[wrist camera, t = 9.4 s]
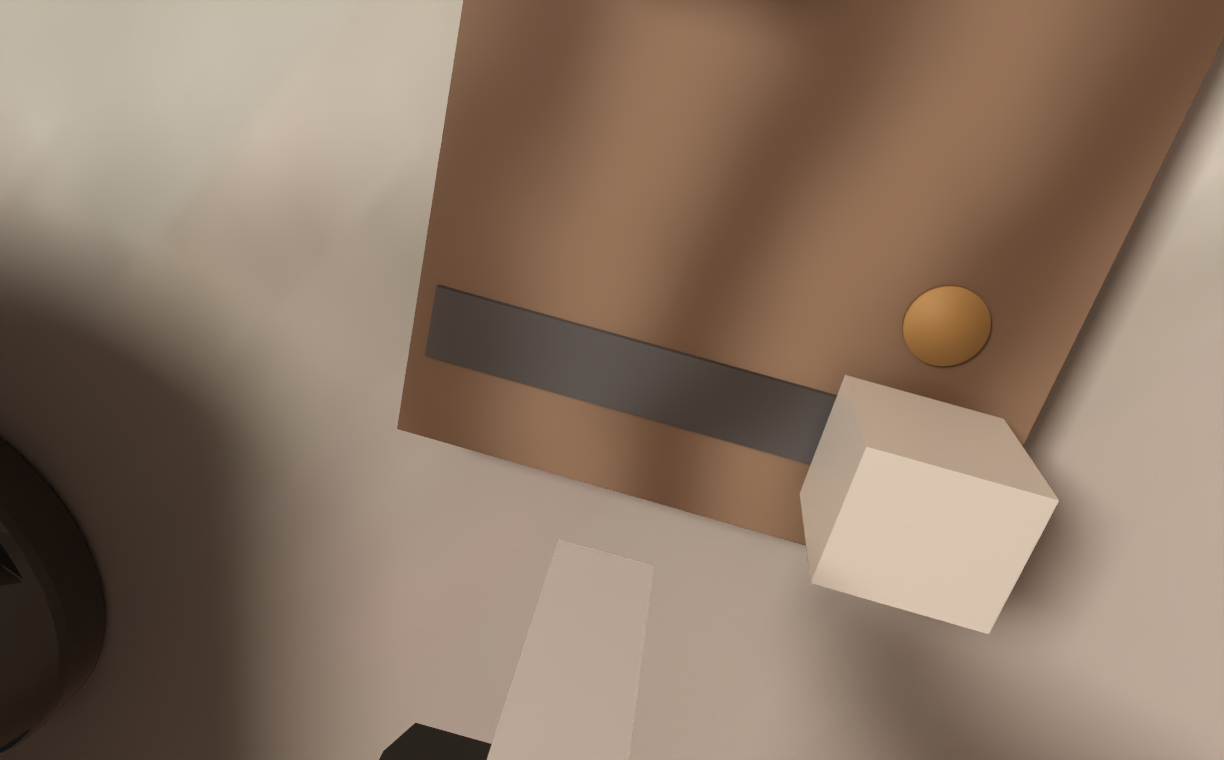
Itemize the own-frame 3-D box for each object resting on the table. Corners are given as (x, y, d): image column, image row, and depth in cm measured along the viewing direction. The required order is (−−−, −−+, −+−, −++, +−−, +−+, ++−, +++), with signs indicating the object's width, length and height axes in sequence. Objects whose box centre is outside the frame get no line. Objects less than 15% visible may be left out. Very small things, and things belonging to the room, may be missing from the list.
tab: (799, 493, 22) (810, 583, 19) (845, 374, 21) (866, 446, 17) (948, 535, 22) (988, 634, 19) (1003, 418, 21) (1058, 500, 17)
